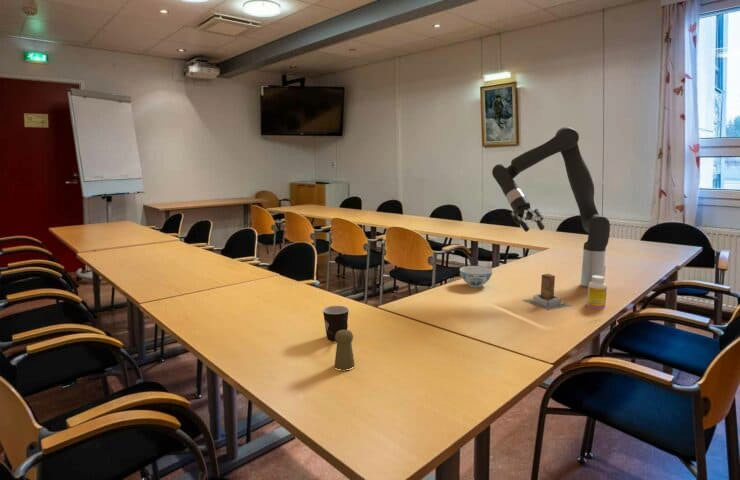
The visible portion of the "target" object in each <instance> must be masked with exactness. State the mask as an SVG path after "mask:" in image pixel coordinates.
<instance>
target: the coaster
mask: <svg viewBox="0 0 740 480" xmlns="http://www.w3.org/2000/svg"><path fill="white" fill-rule="evenodd" d="M531 299H533V297H532V298H528V299H523V300H522V301H523V302H525V303H528V304H530V305H532V306H536V307H538V308H541V309H543V310H546V311H552V310H558V309H562V308H563V309H564V308H568V307H572V306H573V305H572V304H569V303H567V302H563V301H562V302H563V303H565V305H560V306H554V307H549V308H546V307H543V306H541V305H538V304H535V303H533V302H530V301H529V300H531Z"/></svg>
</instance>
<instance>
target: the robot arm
mask: <svg viewBox="0 0 740 480" xmlns="http://www.w3.org/2000/svg"><path fill="white" fill-rule="evenodd" d="M579 139H580V134H579V133H578V131H577V130H576V129H574V128H573V127H570V126H564V127H561V128H560V129H558V130H557V132H556V133H555V135H554V137H552V138H550V139H549V140H547V141H546V142H545V143H543V144H541V145H538V146H536V147H534V148H531V149H529V150H527V151H525V152H523V153H521V154H519V155H518V156H516V157H515V158H513V159H512V160H511V162H510V165H508V166H505V165H504V164H501V163H500V164H496V165H494V167H492V170H491V174H492V177H493V179H494V180H495V182H497V184H498V185H499V187H500V189H501V191H502V193H503V194H504V196H505V198H506V200H507V203H508V204H509V205H510V207H511V208H510V209H512V212H511V213H510V215H511V217H512V219H513V221H514V224H515V225H519V226H521V228H522V229H523V231H524V232H525V233H527V232H528V231H529V230H530V227H529V226H528V224H527V222H526V221H531V222H534V223H535V224H536V225H537V227H538V229H539V230H540V231H543V230H544V229H545V225H544V223H543V220H544V216H543V215H542V214H541V212H540V211H539V209H538V208H535V209H532V208H531V204H530V202H529V200H528V198H527V197H526V195H525V194H524V192H523V191H522V190H521V189H520V186H519V185H518V184H517V182H516V181H515V180H514V179H515V178H516V177H517V176H518V175H519V174H521V173H522V172H525V170H528V169H529V168H531V167H533V166H535V165H536V164H538V163H540V162H541V161H542V162H543V161H544V160H545V159H547V158H549V157H551V156H553V155H556V154H557V153H558V154H559V153H560V154H561V156H562V159H563V162H564V167H565V171H566V175H567V179H568V183H569V185H570V188H571V192H572V194H573V196H574V199H575V203H576V205H577V207H578V211H579V216H580V220H581V225H582V229H583V230H584V231H585V232H586V233H588V234H587V236H588V237H587V241H585V242H584V244H583V249H582V250H583V251H582V264H581V277H580V285H581V286H582V287H586V288H588V284H589V283H590V282H592V279H591V278H592V276H593V275H598V276H603V277H605V276H606V265H605V264H606V263H605V261H606V249H607V246H608V245H609V238H610V232H611V224H610V220H609V219H608V218H607V217H606V216H603V215H600V214H599V212H598V209H597V207H596V204H595V185H594V181H593V177H592V175H591V172H590V170H589V167H588V166H587V164H586V162H585V160H584V159H583V156H582V153H581V151H580V148H579V144H578V143H579ZM605 278H606V277H605Z"/></svg>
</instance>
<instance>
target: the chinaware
mask: <svg viewBox="0 0 740 480" xmlns="http://www.w3.org/2000/svg"><path fill="white" fill-rule="evenodd" d="M459 273H460V276H461V278H462V280H463V281H464V282H465V283H466V284H468V287H470V288H475V289H476V288H482V287H483V286H484V285H485V284H486V283H487V282H489V280H490V279H491V277H492V274H493V269H492V268H490V267H485V266H480V265H469V266H467V265H466V266H463V267H460V268H459Z"/></svg>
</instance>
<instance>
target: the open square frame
mask: <svg viewBox="0 0 740 480" xmlns="http://www.w3.org/2000/svg"><path fill="white" fill-rule="evenodd" d="M532 298H533V299H532ZM532 298H530V299H531V300H529V301H530V302H533V303H535V304H538V305H541V306H543V307H546V308H549V307H554V306H560V305H565V303H566V302H564V303H563V301H562V297H561V296H557V295H555V294H554V299H549V300H546V299H544V298H541V293H540V294H539V293H538V294H535V295H533V297H532Z"/></svg>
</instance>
